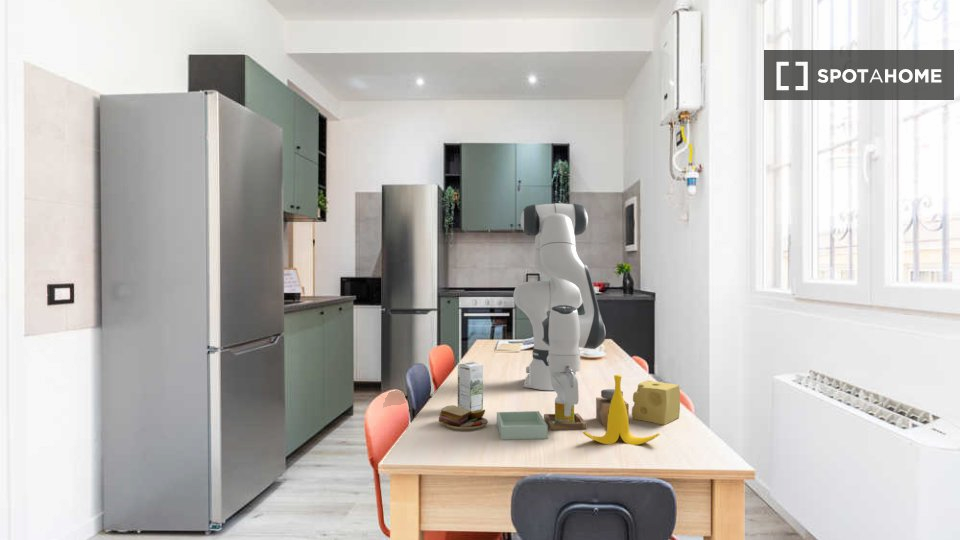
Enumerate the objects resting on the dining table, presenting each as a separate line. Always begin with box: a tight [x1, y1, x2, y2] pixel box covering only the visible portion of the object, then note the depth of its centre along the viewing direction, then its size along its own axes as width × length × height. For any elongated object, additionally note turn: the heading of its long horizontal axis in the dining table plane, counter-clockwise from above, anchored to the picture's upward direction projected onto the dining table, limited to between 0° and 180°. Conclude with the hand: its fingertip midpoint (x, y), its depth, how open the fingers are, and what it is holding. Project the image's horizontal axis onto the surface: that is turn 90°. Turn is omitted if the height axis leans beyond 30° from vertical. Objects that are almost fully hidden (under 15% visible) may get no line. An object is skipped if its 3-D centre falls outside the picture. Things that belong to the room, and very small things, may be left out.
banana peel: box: [582, 374, 661, 446], centre depth 138 cm, size 17×19×17 cm
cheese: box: [631, 380, 681, 426], centre depth 158 cm, size 10×11×10 cm
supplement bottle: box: [554, 390, 575, 423], centre depth 153 cm, size 5×5×10 cm
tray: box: [496, 410, 548, 441], centre depth 147 cm, size 14×12×3 cm
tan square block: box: [595, 388, 630, 427], centre depth 155 cm, size 8×7×9 cm
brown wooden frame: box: [543, 412, 588, 431], centre depth 153 cm, size 10×10×2 cm
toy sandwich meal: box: [438, 404, 489, 432], centre depth 153 cm, size 12×14×5 cm
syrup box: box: [457, 361, 484, 412], centre depth 168 cm, size 6×6×14 cm
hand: (564, 412), depth 153 cm, fingers closed on supplement bottle, 5 cm apart
